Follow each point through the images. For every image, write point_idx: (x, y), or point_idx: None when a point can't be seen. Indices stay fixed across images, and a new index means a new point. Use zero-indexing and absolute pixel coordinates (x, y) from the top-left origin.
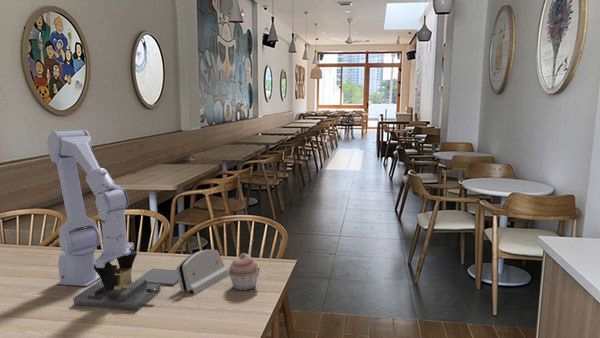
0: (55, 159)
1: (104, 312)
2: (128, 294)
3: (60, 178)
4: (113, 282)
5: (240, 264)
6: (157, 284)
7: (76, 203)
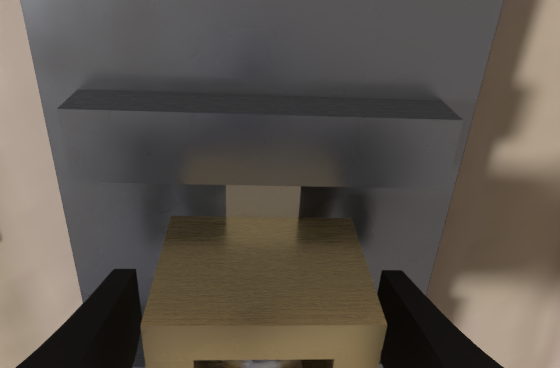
0: None
1: (483, 196)
2: (424, 114)
3: None
4: (429, 313)
5: None
6: None
7: None
